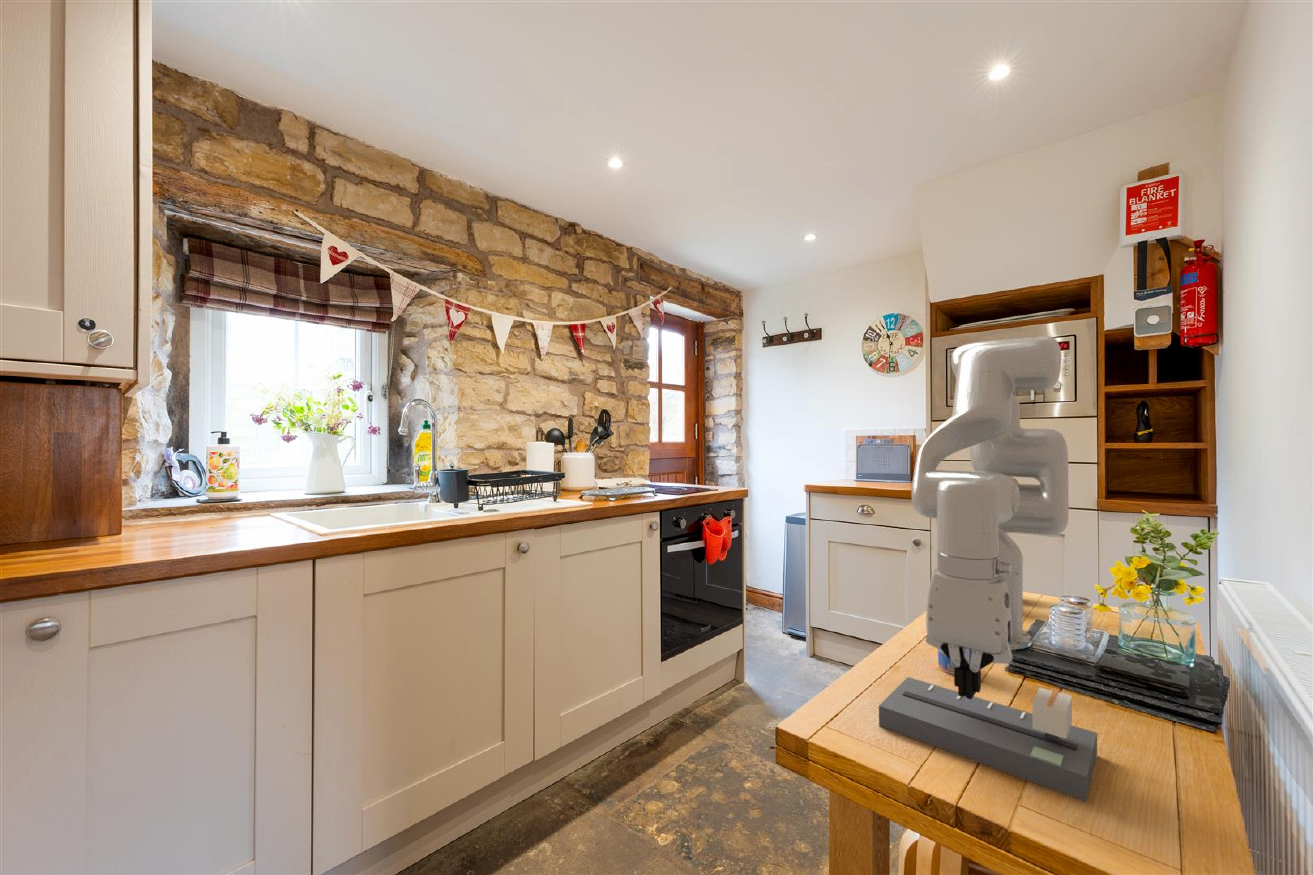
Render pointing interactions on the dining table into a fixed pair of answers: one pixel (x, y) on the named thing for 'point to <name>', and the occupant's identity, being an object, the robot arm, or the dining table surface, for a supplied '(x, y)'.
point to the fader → (1052, 713)
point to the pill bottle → (946, 662)
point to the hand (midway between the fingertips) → (967, 693)
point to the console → (991, 736)
